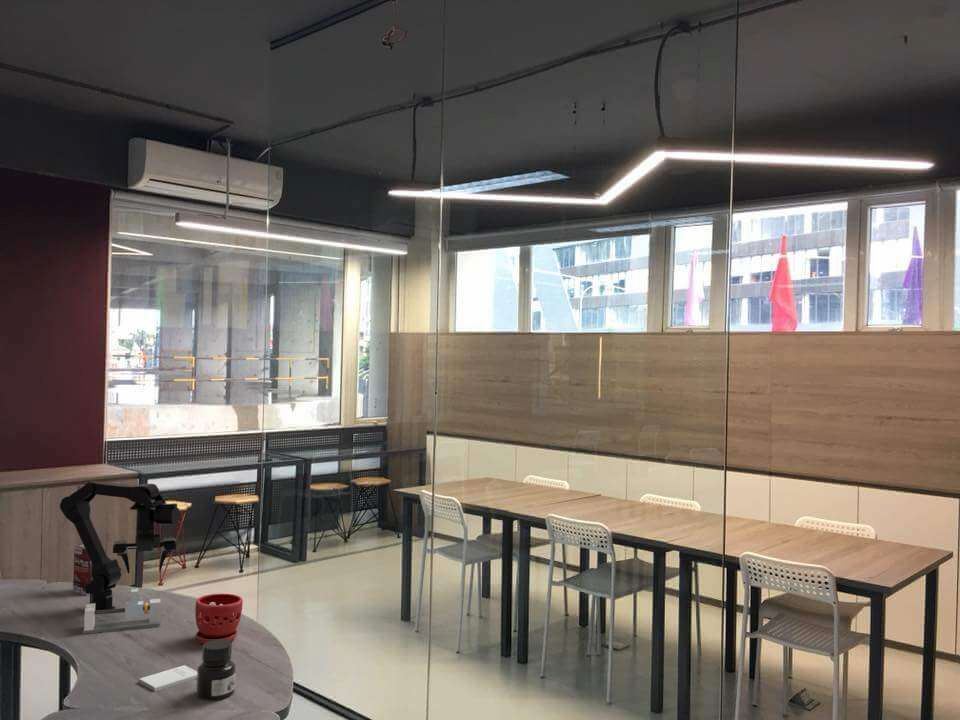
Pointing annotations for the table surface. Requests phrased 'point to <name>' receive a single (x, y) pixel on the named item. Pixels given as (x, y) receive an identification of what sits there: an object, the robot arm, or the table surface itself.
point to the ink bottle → (216, 671)
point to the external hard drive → (168, 678)
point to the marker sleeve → (134, 605)
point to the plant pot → (218, 617)
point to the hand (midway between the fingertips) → (144, 572)
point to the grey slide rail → (118, 625)
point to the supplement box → (81, 569)
